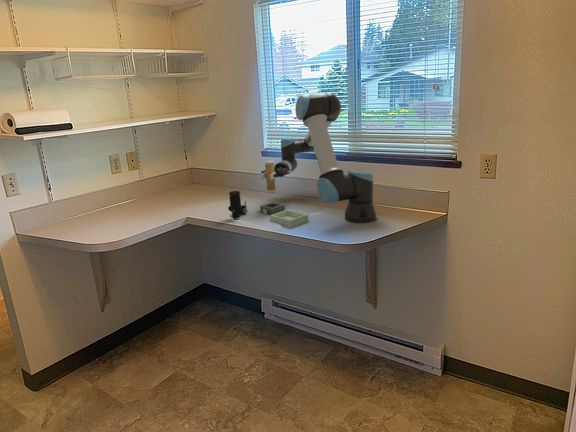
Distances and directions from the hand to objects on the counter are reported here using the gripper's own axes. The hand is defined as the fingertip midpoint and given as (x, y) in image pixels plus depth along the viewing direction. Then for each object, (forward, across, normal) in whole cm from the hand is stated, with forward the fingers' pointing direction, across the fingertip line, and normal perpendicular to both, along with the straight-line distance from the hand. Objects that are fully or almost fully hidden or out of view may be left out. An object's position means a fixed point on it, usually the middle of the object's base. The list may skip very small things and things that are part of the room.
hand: (266, 177), depth 221 cm
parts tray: (+8, -14, -20) cm, 26 cm away
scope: (+7, +14, -20) cm, 26 cm away
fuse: (-5, 0, -9) cm, 10 cm away
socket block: (-5, 0, -20) cm, 21 cm away
